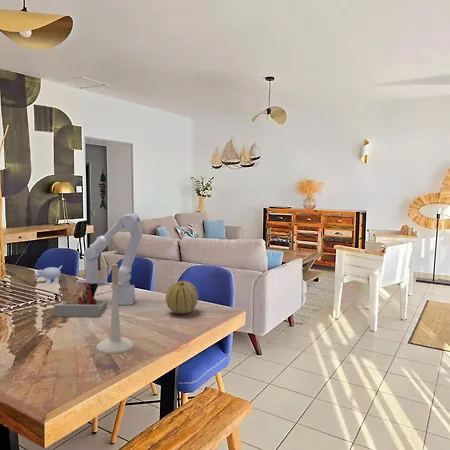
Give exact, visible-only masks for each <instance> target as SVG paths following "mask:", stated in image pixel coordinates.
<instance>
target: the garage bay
mask: <svg viewBox="0 0 450 450" xmlns="http://www.w3.org/2000/svg"><path fill="white" fill-rule="evenodd" d="M107 304H108V303H107V301H103V302H101V304H96V305H78V304H69V301H67V300H65V301H64V302H63V303H61V304H59V303H58V304H54V306H53V307H54V309H53V310H54V313H53V314H54V316H53V317H55V318H72V317H73V318H99V317H101V316H102V314H103V313H104V312H105V310H107V308H108V307H107V306H108V305H107Z"/></svg>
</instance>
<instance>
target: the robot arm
mask: <svg viewBox="0 0 450 450" xmlns="http://www.w3.org/2000/svg"><path fill="white" fill-rule="evenodd" d="M141 221H142V220H141V218H140V217H139V216H138V214H137V213H134V212H129V213H126V214H123V215H122V217H120V218H119V219H117V221H115V223H114V224H113V225H112V226H111V227H110V228H109V229H108V231H107V232H105V234H104V235H99V236H97V237H96V238H95V240H94V242H93V243H90V244H89V247H87V248H85V250H84V252H83V257H84V258H85V279H77V280H76V281H75V285H76V286H79V285H81V286H83V283H87V284H88V285H89V286H91V289H90V290H91V294H92V296H93V297H94V298H95V294H96V293H97V289H98V287H99V286H107V285H108V280H107V279H106V280H103V279H99V262H98V261H99V259H98V258H99V256H100V254H101V253H102V252H103V250H105V249H106V248H107V247H108V246H109V244H110V240H111V239H112V238H113V237H114V236H115V235H116V234H117V233H118V232H119V231H120V230H121V229H123V228H125V229H127V230H128V232H129V233H130V237H129V241H128V243H127V247H126V249H125V252H124V255H123V258H122V261H121V264H120V267H118V282H119V283H120V284H119V288H118V291H117V292H118V303H119V305H121V306H123V305H124V306H131V305H133V304H134V303H135V301H136V287H135V284H131V283H130V280H131V278H132V269H133V268H132V266H133V263H134V261H135V260H134V259H135V258H136V254H137V251H138V249H139V245H140V242H141V239H142V236H143V229H142V224H141Z"/></svg>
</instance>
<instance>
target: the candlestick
mask: <svg viewBox="0 0 450 450" xmlns="http://www.w3.org/2000/svg"><path fill="white" fill-rule="evenodd" d="M118 270H119V264H118V263H112V264H111V282H110V283H109V285H111V286H110V287H111V290H112V293H111V312H110V313H111V314H110V332H109V335H110V336H109V337H108V338H105V339H103V340H100V342H98V343H97V345H96V351H97V352H99V353H102V354H107V355H115V354H116V355H117V354H123V353H126V352H129V351H130V350H132V349H134V346H135V343H134V341H132V339H129V338H127V337H124V336H121V325H120V324H121V323H120V306H119V303H118V292H117V291H118V288H119V284H120V283H119V282H118Z"/></svg>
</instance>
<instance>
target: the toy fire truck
mask: <svg viewBox="0 0 450 450" xmlns="http://www.w3.org/2000/svg"><path fill="white" fill-rule="evenodd" d="M90 289H91V286H89V285H88V284H87V283H83V285H82V296H78V297H77V305H97V299H96V298H95V296H94V297H93V296H92V294H91V290H90Z"/></svg>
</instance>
